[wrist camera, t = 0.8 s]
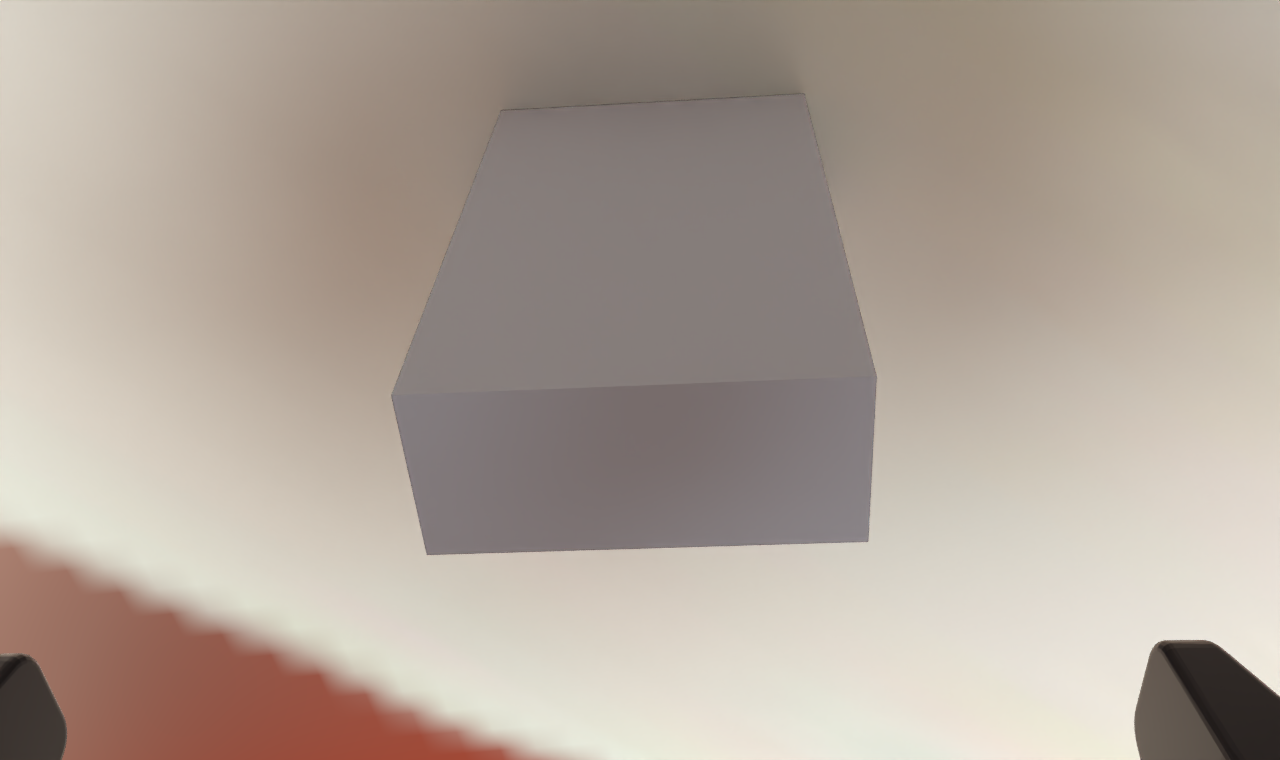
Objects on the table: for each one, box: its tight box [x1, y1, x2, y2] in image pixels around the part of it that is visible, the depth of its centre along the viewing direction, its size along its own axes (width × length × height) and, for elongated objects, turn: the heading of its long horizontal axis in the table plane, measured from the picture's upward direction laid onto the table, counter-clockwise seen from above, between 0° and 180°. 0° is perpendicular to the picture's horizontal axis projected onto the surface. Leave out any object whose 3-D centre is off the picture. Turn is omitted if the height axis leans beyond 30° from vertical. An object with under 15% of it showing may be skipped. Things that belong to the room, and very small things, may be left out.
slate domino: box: [391, 94, 877, 555], centre depth 16 cm, size 5×2×8 cm, turn 94°
